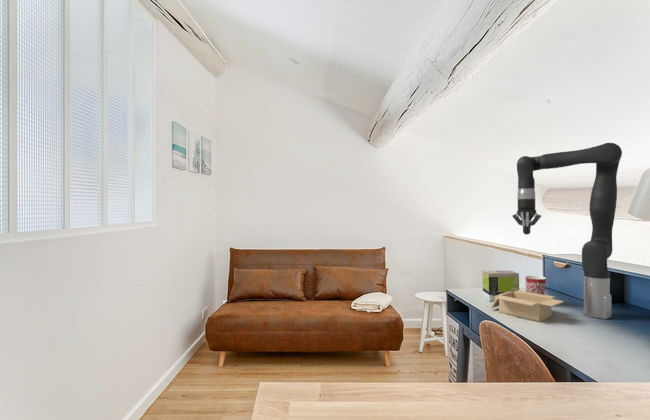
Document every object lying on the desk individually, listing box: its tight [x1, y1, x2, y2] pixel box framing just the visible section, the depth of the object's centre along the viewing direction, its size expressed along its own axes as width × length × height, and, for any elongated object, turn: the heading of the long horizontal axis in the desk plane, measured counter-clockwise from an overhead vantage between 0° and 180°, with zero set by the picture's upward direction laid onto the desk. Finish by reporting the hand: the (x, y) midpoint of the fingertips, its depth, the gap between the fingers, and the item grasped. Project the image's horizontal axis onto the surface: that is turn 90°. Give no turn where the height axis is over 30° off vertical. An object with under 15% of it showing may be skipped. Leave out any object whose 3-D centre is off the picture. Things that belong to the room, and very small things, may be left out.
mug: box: [525, 275, 547, 295], centre depth 185 cm, size 13×9×14 cm
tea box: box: [482, 269, 520, 303], centre depth 192 cm, size 15×10×15 cm, turn 84°
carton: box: [495, 289, 565, 323], centre depth 164 cm, size 22×22×8 cm
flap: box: [490, 291, 511, 309], centre depth 175 cm, size 1×11×8 cm, turn 128°
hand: (526, 234), depth 179 cm, fingers closed
